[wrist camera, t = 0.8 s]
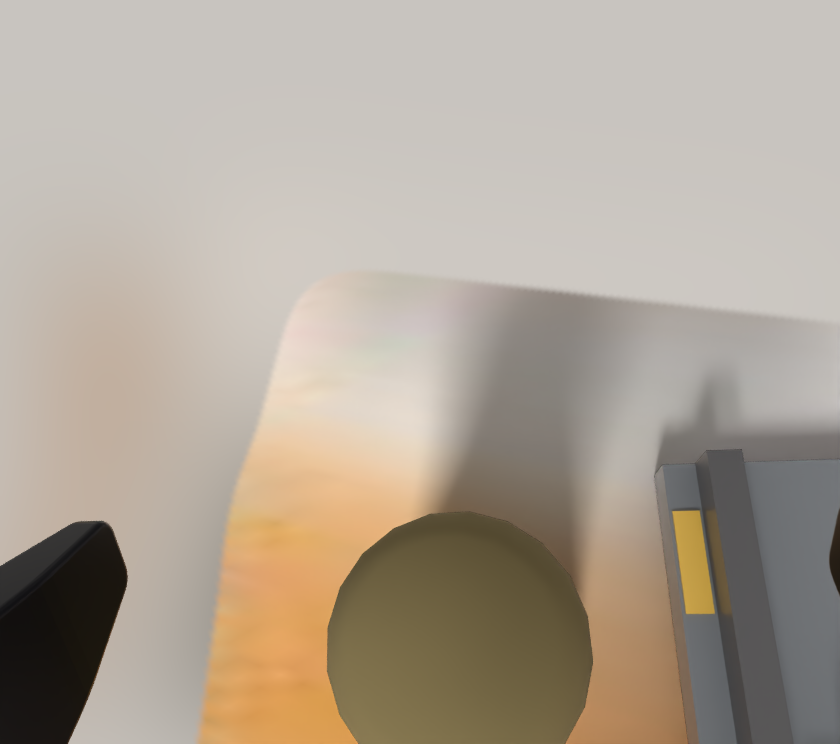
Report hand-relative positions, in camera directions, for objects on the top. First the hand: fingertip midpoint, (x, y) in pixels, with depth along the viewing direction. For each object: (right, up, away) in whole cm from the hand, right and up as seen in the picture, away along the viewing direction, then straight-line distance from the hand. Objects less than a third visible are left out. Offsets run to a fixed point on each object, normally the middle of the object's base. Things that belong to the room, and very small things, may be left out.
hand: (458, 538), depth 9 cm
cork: (+1, -7, +14) cm, 16 cm away
